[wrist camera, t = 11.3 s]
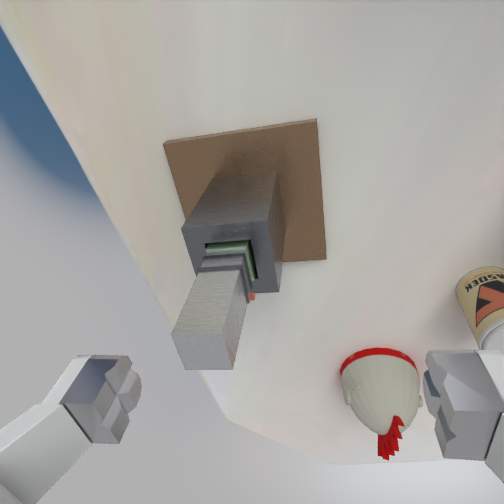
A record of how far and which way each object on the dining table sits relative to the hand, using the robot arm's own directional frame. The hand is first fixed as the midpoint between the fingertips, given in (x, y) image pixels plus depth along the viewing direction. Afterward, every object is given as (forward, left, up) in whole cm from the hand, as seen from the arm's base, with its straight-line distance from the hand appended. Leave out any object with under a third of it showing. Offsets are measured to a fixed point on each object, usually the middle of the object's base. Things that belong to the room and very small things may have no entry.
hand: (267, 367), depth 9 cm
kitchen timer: (-10, +50, -39) cm, 64 cm away
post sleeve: (+8, +12, -39) cm, 42 cm away
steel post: (+8, +12, -31) cm, 34 cm away
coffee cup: (-25, +30, -39) cm, 55 cm away
